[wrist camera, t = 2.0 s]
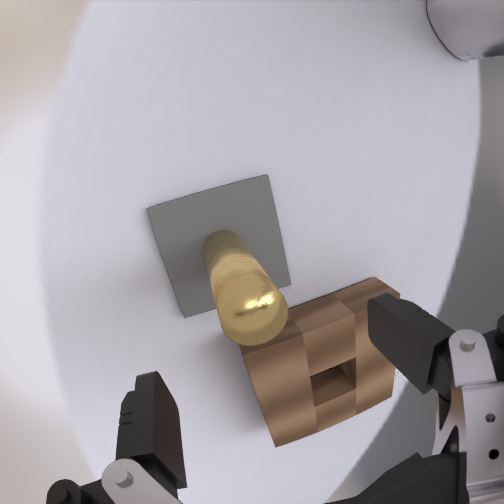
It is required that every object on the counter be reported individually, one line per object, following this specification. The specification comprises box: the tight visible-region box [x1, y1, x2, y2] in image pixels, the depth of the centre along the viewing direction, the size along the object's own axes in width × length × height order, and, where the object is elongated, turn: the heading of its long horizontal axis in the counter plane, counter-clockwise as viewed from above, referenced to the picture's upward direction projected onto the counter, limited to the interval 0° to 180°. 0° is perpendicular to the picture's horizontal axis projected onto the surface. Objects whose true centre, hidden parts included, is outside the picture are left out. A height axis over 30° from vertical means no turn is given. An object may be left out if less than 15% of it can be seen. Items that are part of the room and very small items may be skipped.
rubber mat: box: [146, 175, 291, 318], centre depth 22 cm, size 9×9×1 cm
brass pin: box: [203, 230, 288, 346], centre depth 17 cm, size 3×3×10 cm
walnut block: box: [239, 277, 400, 447], centre depth 26 cm, size 14×14×4 cm
